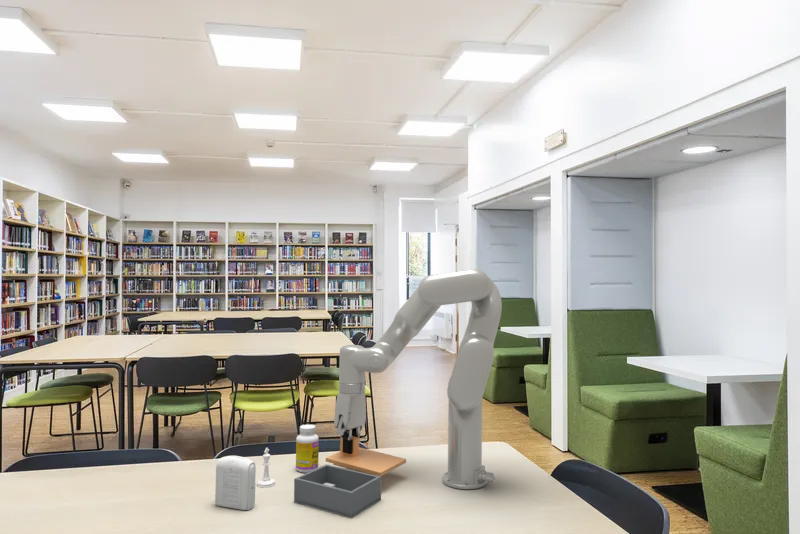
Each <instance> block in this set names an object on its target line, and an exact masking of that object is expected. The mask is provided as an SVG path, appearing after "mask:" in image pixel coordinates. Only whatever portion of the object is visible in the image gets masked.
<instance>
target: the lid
mask: <svg viewBox="0 0 800 534" xmlns="http://www.w3.org/2000/svg"><path fill="white" fill-rule="evenodd" d="M351 440H353V453H352V454H348V453H343V439H342V438H341V437H340V441H339V442H340V443H339V451H338V452H336V453H334V454H332V455H330V456H327V457H325V462H327V463H330V464H332V466H336V467H340V468H345V469H349V470H354V471H358V472H362V473H367V474H371V475H376V476H380V477H381V478H382V477H383V476H384V475H387V474H388V473H390V472H391V471H394V470H395V469H397V468H399V467H401V466H402V465H405V464H406V463H407V459H406V458H404V457H399V456H395V455H392V454H387V453H383V452H379V451H375V450H372V449H368V448H364V447H360V437H355V436H352V438H351Z"/></svg>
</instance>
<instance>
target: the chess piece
mask: <svg viewBox="0 0 800 534" xmlns="http://www.w3.org/2000/svg"><path fill="white" fill-rule="evenodd" d="M269 451H270V449H269V447H265V450H264V451H263V453H264V454H263V455H262V458H263V461H264V462H262V465H263V466H264V467H263V468H264V470H263V476H262V478H261V479H259V480H258V481H257V482H256V483H257V484H256V485H257V486H258V487H259V488H270V486H271V487H273V486H275V485H276V480H275V479H274V478H272V477H270V471H269V469H270V468H269V466H270V465H271V462H270V458H271V454H270V453H269Z"/></svg>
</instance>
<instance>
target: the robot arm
mask: <svg viewBox="0 0 800 534" xmlns="http://www.w3.org/2000/svg"><path fill="white" fill-rule="evenodd" d="M469 302H471V309H470V313H469V317H468V322H467V324H466V328H465V332H464V334H463V335H464V336H463V337H462V339H461V341H460V343H459V345H458V346H459V347H458V351H457V354H456V358H455V362H454V365H453V368H452V371H451V374H450V375H451V376H450V378H449V380H448V383H447V388H446V394H447V398H448V406H447V407H448V409H447V410H448V414H447V415H448V418H447V419H448V420H447V424H448V426H447V472H445V473H443V475H442V477H441V479H442V483H443V484H444V485H446V486H448V487H450V488H453V489H454V488H455V489H460V490H476V489H481V488H483V487H485V486H486V485H487V484H488V483H495V481H496V475H495V473H494V472H492V471H491V472H490V471H487V470H486V465H483V464H482V463H483V459H482V457H483V448H482V447H483V396H484V393H485V389H486V386H487V383H488V379H489V376H490V372H491V369H492V365H493V362H494V356H495V355H494V354H495V352H494V344H495V340H496V337H497V333H498V329H499V325H500V321H501V316H502V312H503V311H502V309H503V308H502V307H503V304H502V303H503V301H502V297H501V294H500V291H499V288H498V287H497V285H496V284H495V282H494V281H493V280H492V279H491V277H489V275H488V274H487V273H485V271H483V270H480V269H476V268H475V269H469V270H461V271H456V272H448V273H439V274H429V275H427V276H425V277H423V278H422V279H421V281H420V282H419V284H418V287H417V288H416V289H415V291H414V292H413V293H412V294H411V295H410V297H408V299H407V300H406V301H405V303H404V304H403V305H402V306H401V307H400V308H399V310H398V311H397V312H396V314H395V316H394V318H393V321H392V322H391V324H390V325H389V327H388V328H387V330H386V331H385V332H384V333H383V334H382V336H380V338H379V339H378V341H377V342H376V343H375V344H374V345H372V347H364V346H362V345H358V344H346V345H343V346H341V348H339V361H338V362H339V365H338V366H339V371H338V373H339V374H338V378H339V379H338V394H337V396H336V399H335V400H336V402H335V409H334V422H333V423H334V428H335V429H336V435H339V436H340V439H341V438H342V439H343V453H348V454H352V453H353V440H351V438H352V436H355V437H359V438H360V437H361V431H362V429H363V428H364V426H365V425H366V421H367V420H366V419H367V402H366V373H370V374H381V373H383V372H385V371H386V370H387V369H388V368H389V367H390V366H391V365H392V363H394V362H395V360H396V359H397V357H398V356H399V355H400V354H401V353H402V351H403V350H404V349H405V347H406V346H407V345H408V344H409V343H410V342H411V341H412V339H414V338H415V337H416V336H418V334H419V333H421V331H422V329H423V328H424V327H425V326H427V323H428V322H429V321H430V320H431V319H432V317H433V316H434V315H435V313H437V311H439V309H440V307H441V306H446V305H447V306H448V305H453V304H454V305H455V304H462V303H469Z"/></svg>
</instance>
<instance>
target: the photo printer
mask: <svg viewBox="0 0 800 534" xmlns="http://www.w3.org/2000/svg"><path fill="white" fill-rule="evenodd" d="M256 469H257V468H256V462H254V461H253V460H252V459H249V458H246V457H244V456H239V455H226V456H223V457H221V458H218V460H217V461H216V466H215V494H214V496H215V497H214V504H215V505H216V506H219V507H224V508H229V509H236V510H242V511H249V510H252V509H253V508H254V507H255V503H256V472H257V471H256Z"/></svg>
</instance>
